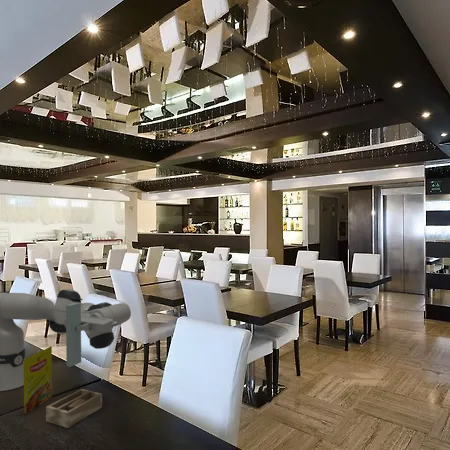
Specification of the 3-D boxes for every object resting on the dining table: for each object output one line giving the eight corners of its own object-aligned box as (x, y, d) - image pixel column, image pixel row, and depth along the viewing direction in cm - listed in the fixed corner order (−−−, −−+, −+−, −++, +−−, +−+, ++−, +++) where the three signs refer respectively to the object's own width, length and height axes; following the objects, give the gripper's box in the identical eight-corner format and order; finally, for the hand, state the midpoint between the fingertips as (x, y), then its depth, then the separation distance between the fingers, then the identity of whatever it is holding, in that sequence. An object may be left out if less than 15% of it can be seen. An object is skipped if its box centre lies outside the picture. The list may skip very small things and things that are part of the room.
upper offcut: (68, 413, 132) (68, 406, 132) (78, 405, 137) (78, 398, 137) (75, 414, 131) (75, 407, 131) (86, 406, 137) (86, 399, 137)
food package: (25, 415, 135) (25, 359, 135) (22, 415, 135) (22, 359, 135) (53, 396, 150) (52, 346, 150) (50, 396, 150) (50, 345, 150)
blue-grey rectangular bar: (66, 365, 137) (66, 305, 137) (77, 361, 142) (76, 302, 141) (70, 366, 136) (70, 305, 136) (81, 362, 141) (80, 302, 141)
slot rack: (45, 421, 131) (45, 406, 131) (81, 401, 145) (81, 388, 145) (67, 428, 126) (67, 413, 126) (102, 407, 141) (102, 393, 141)
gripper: (120, 330, 147) (94, 340, 134) (81, 325, 155) (53, 334, 143) (120, 314, 146) (94, 323, 134) (81, 309, 155) (53, 317, 143)
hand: (72, 328), depth 138 cm, fingers closed on blue-grey rectangular bar, 2 cm apart
